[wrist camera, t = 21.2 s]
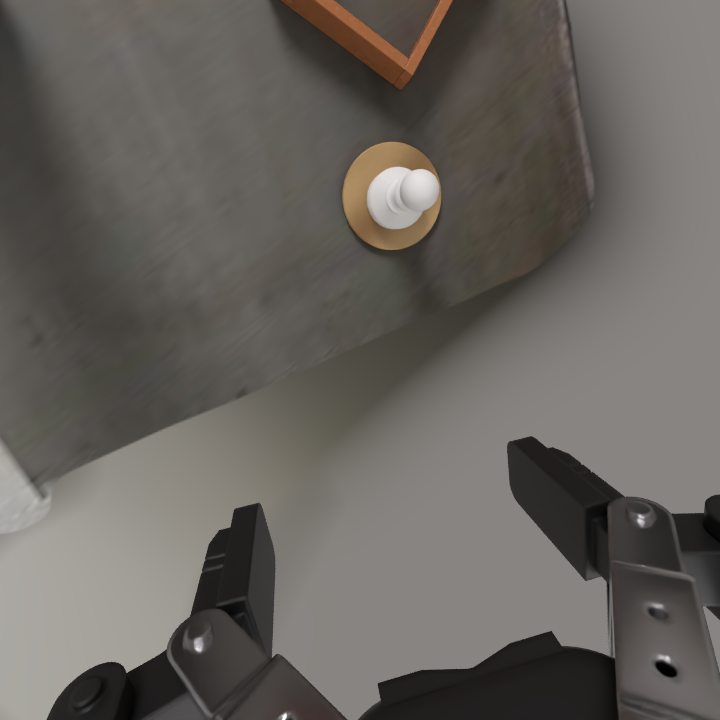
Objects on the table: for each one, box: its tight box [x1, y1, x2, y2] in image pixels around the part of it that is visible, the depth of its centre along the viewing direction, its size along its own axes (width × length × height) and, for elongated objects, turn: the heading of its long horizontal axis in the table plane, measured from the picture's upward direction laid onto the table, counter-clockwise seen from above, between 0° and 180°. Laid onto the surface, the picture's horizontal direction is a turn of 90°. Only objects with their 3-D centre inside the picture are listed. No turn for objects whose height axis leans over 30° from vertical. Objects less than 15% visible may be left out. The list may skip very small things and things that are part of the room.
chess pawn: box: [367, 167, 439, 229], centre depth 33 cm, size 5×5×9 cm
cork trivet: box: [342, 142, 441, 250], centre depth 37 cm, size 9×9×1 cm
